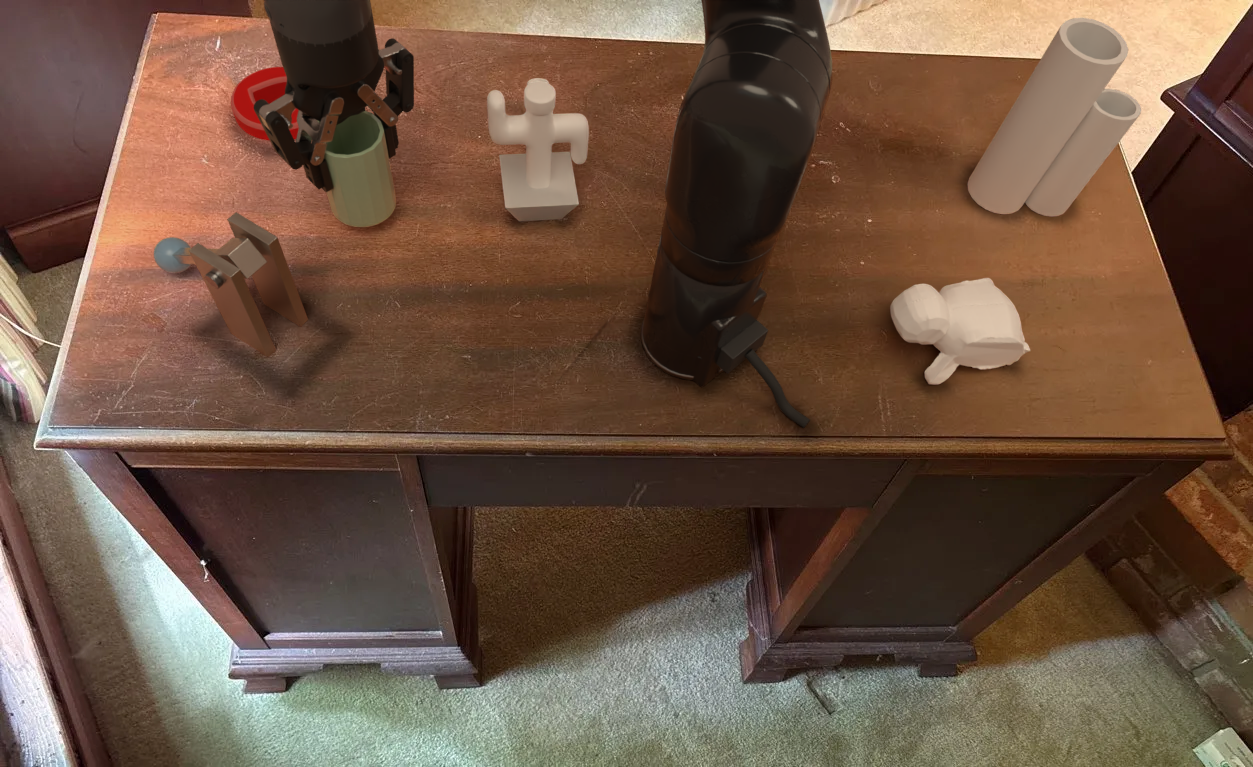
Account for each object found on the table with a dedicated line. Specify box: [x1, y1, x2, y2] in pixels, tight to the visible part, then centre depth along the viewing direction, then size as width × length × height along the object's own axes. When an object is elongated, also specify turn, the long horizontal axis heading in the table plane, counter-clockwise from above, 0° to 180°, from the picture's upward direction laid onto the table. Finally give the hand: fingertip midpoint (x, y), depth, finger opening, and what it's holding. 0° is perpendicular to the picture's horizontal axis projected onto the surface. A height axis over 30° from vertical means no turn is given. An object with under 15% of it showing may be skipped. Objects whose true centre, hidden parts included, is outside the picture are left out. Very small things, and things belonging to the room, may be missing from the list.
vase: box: [966, 17, 1142, 217], centre depth 90 cm, size 11×7×20 cm, turn 93°
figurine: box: [486, 77, 590, 222], centre depth 84 cm, size 7×9×15 cm
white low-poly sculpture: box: [889, 277, 1031, 385], centre depth 83 cm, size 9×8×15 cm
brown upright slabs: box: [189, 211, 309, 358], centre depth 74 cm, size 10×7×13 cm
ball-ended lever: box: [153, 236, 267, 280], centre depth 75 cm, size 16×3×3 cm
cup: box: [317, 110, 397, 228], centre depth 80 cm, size 6×6×9 cm
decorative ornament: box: [230, 66, 299, 142], centre depth 92 cm, size 10×10×3 cm
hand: (355, 167), depth 80 cm, fingers closed on cup, 6 cm apart
